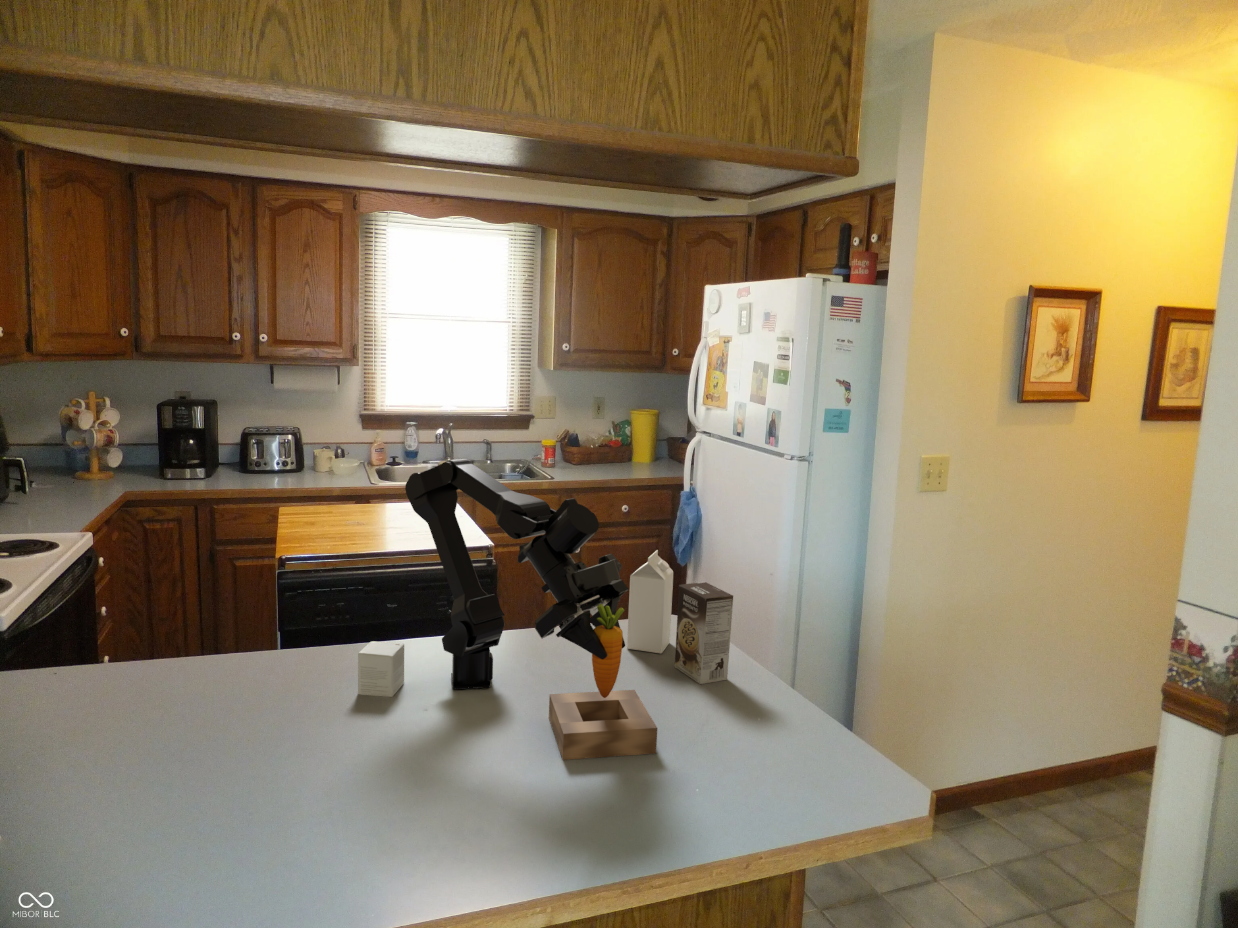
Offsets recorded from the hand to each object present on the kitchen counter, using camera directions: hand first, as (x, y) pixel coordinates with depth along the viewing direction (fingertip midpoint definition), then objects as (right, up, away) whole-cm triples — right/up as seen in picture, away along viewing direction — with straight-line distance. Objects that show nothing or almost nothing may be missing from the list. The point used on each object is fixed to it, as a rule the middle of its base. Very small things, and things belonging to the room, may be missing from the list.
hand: (614, 652), depth 130 cm
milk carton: (+7, -8, +41) cm, 43 cm away
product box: (-40, -10, +15) cm, 44 cm away
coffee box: (+16, -10, +28) cm, 34 cm away
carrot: (-2, -8, +2) cm, 8 cm away
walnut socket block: (-2, -13, +2) cm, 13 cm away
